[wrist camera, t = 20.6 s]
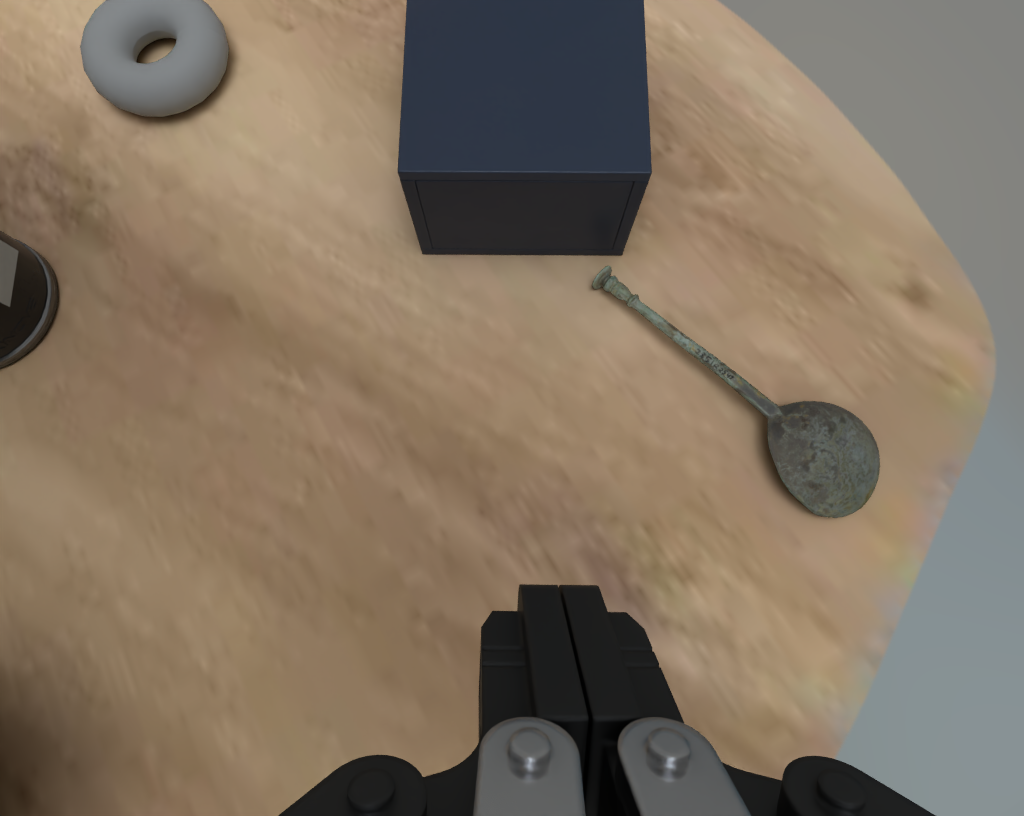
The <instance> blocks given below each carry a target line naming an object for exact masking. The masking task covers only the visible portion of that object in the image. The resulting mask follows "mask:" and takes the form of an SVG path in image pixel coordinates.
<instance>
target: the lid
mask: <svg viewBox="0 0 1024 816" xmlns="http://www.w3.org/2000/svg"><path fill="white" fill-rule="evenodd" d="M651 173H652V169H651V148H650V126H649V105H648V83H647V62H646V40H645V18H644V0H407V8H406V26H405V45H404V64H403V82H402V101H401V120H400V138H399V157H398V174H399V177H400V179H401V180H542V181H649V179H650V176H651Z"/></svg>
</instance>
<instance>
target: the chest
mask: <svg viewBox="0 0 1024 816" xmlns="http://www.w3.org/2000/svg"><path fill="white" fill-rule="evenodd" d="M400 181H401V184H402V188H403V191H404V194H405V197H406V201H407V204H408V207H409V211H410V214H411V217H412V221H413V224H414V227H415V230H416V234H417V237H418V240H419V244H420V247H421V250H422V254H494V255H622V254H623V251H624V248H625V245H626V242H627V240H628V237H629V234H630V231H631V228H632V226H633V223H634V220H635V217H636V215H637V212H638V209H639V206H640V204H641V201H642V198H643V195H644V193H645V190H646V187H647V184H648V181H542V180H401V179H400Z"/></svg>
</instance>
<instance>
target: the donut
mask: <svg viewBox="0 0 1024 816" xmlns="http://www.w3.org/2000/svg"><path fill="white" fill-rule="evenodd" d="M162 38H174V39H177V40H176V44H175V46H174V48H173V50H172V51H171V52H170V53H169V54H168V55H167V56H165V57H164V58H162V59H160V60H158V61H156V62H152V63H148V64H142V63H136V61H137V56H138V54H139V53H140V51H141V50H142V49H143V48H144V47H145V46H146V45H148V44H150V43H151V42H153V41H155V40H158V39H162ZM80 48H81V54H82V60H83V66H84V71H85V72H86V74H87V76H88V77H89V79H90V81H91V82H92V84H93V85H94V87H95V89H96V90H97V92H98V93H99V94H101V95H102V96H103V97H104V98H106V99H107V100H108V101H110V102H111V103H112V104H114V105H115V106H116V107H118V108H120V109H123V110H126V111H129V112H132V113H135V114H138V115H141V116H155V117H165V116H169V115H173V114H177V113H181V112H184V111H186V110H188V109H190V108H192V107H194V106H195V105H197V104H199V103H201V102H203V101H204V100H205V99H206V98H207V97H208V96H209V95H210V94H211V93H212V92H213V91H214V90H215V89H216V88H217V86H218V84H219V83H220V81H221V79H222V77H223V75H224V73H225V71H226V66H227V60H228V53H229V47H228V42H227V38H226V33H225V30H224V27H223V24H222V23H221V21H220V20H219V18H218V17H217V16H216V14H215V13H214V11H213V10H212V8H211V7H210V6H209V5H208V4H207V3H205V2H204V1H203V0H106V1H105V2H104V3H102V4H101V5H100V6H99V7H98V8H97V9H96V10H95V11H94V13H93V14H92V16H91V18H90V19H89V21H88V23H87V24H86V26H85V28H84V32H83V37H82V41H81V46H80Z"/></svg>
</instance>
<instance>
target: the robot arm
mask: <svg viewBox="0 0 1024 816" xmlns="http://www.w3.org/2000/svg"><path fill="white" fill-rule="evenodd" d="M57 301H58V288H57V282H56V278H55V275H54V273H53V271H52V269H51V267H50V265H49V264H48V262H47V261H46V260H45V259H44V258H43V257H42V256H41V255H40V254H39V253H38V252H36V251H35V250H33V249H32V248H30V247H29V246H27V245H26V244H24V243H22V242H20V241H18V240H16V239H13V238H11V237H10V236H8V235H7V234H5V233H4V232H2V231H0V368H2V367H4V366H7V365H9V364H11V363H13V362H15V361H16V360H18V359H20V358H21V357H23V356H24V355H25V354H27V353H28V352H29V351H30V350H31V349H32V348H33V347H34V346H35V345H37V343H38V342H39V341H40V340H41V339H42V337H43V336H44V335H45V333H46V332H47V330H48V328H49V326H50V324H51V322H52V320H53V317H54V315H55V311H56V307H57ZM279 816H935V815H934V814H932V813H930V812H929V811H927V810H925V809H924V808H922V807H920V806H919V805H917V804H915V803H914V802H912V801H910V800H909V799H907V798H905V797H904V796H902V795H900V794H899V793H897V792H895V791H894V790H892V789H890V788H889V787H887V786H885V785H884V784H882V783H880V782H879V781H877V780H875V779H874V778H872V777H870V776H869V775H867V774H865V773H863V772H862V771H860V770H858V769H857V768H855V767H853V766H851V765H849V764H846V763H844V762H841V761H838V760H835V759H832V758H827V757H821V756H805V757H801V758H798V759H795V760H793V761H792V762H791V763H789V764H788V766H787V767H786V768H785V771H784V774H783V778H782V781H781V780H777V779H773V778H769V777H766V776H762V775H758V774H754V773H750V772H746V771H743V770H740V769H736V768H734V767H731V766H729V765H727V764H724V763H723V762H721V760H720V759H719V757H718V755H717V753H716V751H715V750H714V748H713V747H712V745H711V744H710V742H709V741H708V740H707V739H706V738H705V737H704V736H703V735H701V734H700V733H699V732H698V731H696V730H695V729H693V728H692V727H690V726H688V725H686V724H684V722H683V719H682V717H681V714H680V712H679V710H678V707H677V705H676V703H675V700H674V698H673V696H672V693H671V691H670V689H669V686H668V684H667V682H666V679H665V677H664V674H663V672H662V670H661V668H659V663H658V660H657V658H656V656H655V653H654V652H652V646H651V644H650V642H649V639H648V637H647V634H646V632H645V630H644V628H643V627H642V626H640V625H639V624H638V623H637V622H636V621H635V620H634V619H633V618H632V617H631V616H630V615H629V614H627V613H626V612H607V609H606V606H605V603H604V600H603V597H602V594H601V592H600V589H599V587H598V586H597V585H560V586H559V588H558V585H525V584H520V585H519V592H518V609H517V611H492V612H491V614H490V615H489V617H488V618H487V620H486V621H485V623H484V624H483V626H482V627H481V650H480V676H479V743H478V745H477V747H476V749H475V750H474V751H473V752H472V754H471V755H470V756H469V757H468V758H466V759H465V760H464V761H463V762H461V763H460V764H458V765H457V766H455V767H453V768H451V769H449V770H446V771H443V772H440V773H437V774H433V775H430V776H426V777H422V775H421V773H420V772H419V771H418V770H417V769H416V768H415V767H414V766H413V765H412V764H410V763H409V762H407V761H405V760H403V759H400V758H397V757H394V756H388V755H371V756H365V757H361V758H358V759H355V760H352V761H350V762H348V763H346V764H344V765H342V766H341V767H339V768H338V769H336V770H335V771H334V772H332V773H331V774H330V775H329V776H327V777H326V778H325V779H324V780H322V781H321V782H320V783H319V784H317V785H316V786H315V787H314V788H312V789H311V790H310V791H309V792H307V793H306V794H305V795H304V796H302V797H301V798H300V799H299V800H297V801H296V802H295V803H294V804H292V805H291V806H290V807H289V808H287V809H286V810H285V811H284V812H282V813H281V814H280V815H279Z"/></svg>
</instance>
